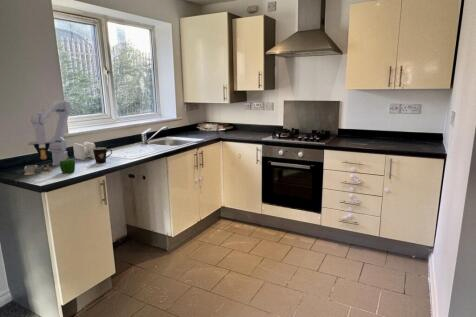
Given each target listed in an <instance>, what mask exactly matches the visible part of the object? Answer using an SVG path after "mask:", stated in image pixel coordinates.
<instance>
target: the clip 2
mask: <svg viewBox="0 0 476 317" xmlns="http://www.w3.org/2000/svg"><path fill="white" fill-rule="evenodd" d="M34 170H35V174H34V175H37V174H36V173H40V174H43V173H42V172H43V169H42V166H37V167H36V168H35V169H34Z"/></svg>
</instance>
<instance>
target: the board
mask: <svg viewBox="0 0 476 317" xmlns="http://www.w3.org/2000/svg"><path fill="white" fill-rule="evenodd" d="M46 168H47V166H46V167H44V169H46ZM52 168H53V167H52V166H49V171H43V172H42V173H36V174H35V172H30V173H25V172H24V173H23V174H24V176H29V175H39V174H47V173H48V174H49V173H52Z"/></svg>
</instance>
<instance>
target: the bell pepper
mask: <svg viewBox="0 0 476 317" xmlns="http://www.w3.org/2000/svg"><path fill="white" fill-rule="evenodd" d="M68 159H69V160H68ZM59 168H60V171H61V173H62V174H64V175H65V174H66V175H69V174H73V173H75V169H76V162H75V160H73V159H70V156H68V157H67V159H66V160H65V161H60V165H59Z"/></svg>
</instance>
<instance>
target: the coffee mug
mask: <svg viewBox="0 0 476 317" xmlns="http://www.w3.org/2000/svg"><path fill="white" fill-rule="evenodd" d="M108 151H110V154H108V155H107V152H108ZM93 152H94V156H95V158H94V160H95V163H96V164H97V165H98V164H106V162H107V159H108V157H110V156H111V155H112V154H113V150H112V149H111V148H110V149H109V148H108V149H107V147H99V146H98V147H95V148H93Z"/></svg>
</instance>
